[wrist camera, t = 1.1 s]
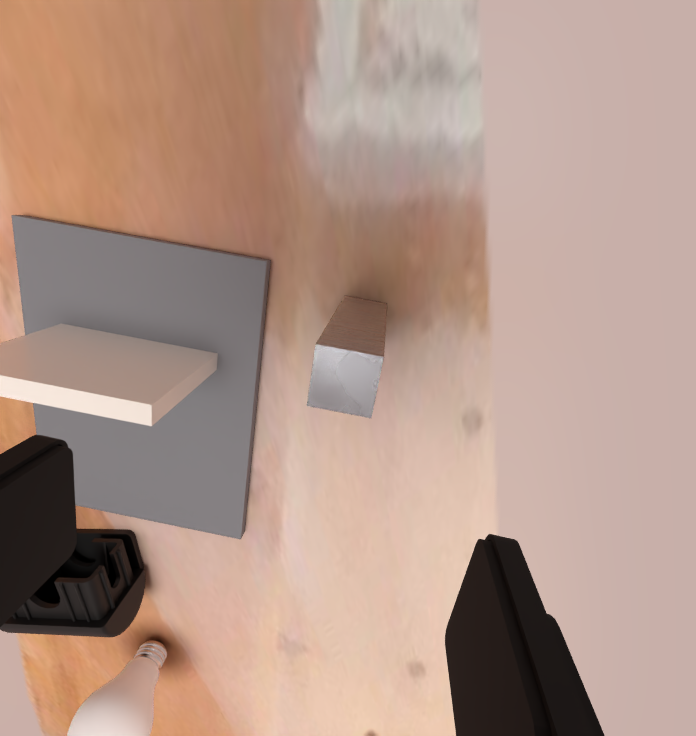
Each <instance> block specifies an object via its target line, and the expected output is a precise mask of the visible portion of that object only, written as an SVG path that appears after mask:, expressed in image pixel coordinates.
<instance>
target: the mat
mask: <svg viewBox="0 0 696 736" xmlns="http://www.w3.org/2000/svg"><path fill="white" fill-rule="evenodd" d="M12 224H13V232H14V241H15V250H16V258H17V267H18V276H19V285H20V293H21V302H22V311H23V319H24V328H25V335H28V334H31V333H34V332H37V331H40V330H43V329H46V328H49V327H52V326H56V325H59V324H66V325H72V326H77V327H82V328H87V329H92V330H98V331H103V332H108V333H113V334H119V335H124V336H129V337H134V338H140V339H145V340H150V341H155V342H161V343H166V344H171V345H176V346H181V347H187V348H192V349H197V350H202V351H208V352H213V353H218V357H217V370H216V371H215V372H214V373H212V374H211V375H210V376H209V377H208V378H207V379H206V380H204V381H203V382H202V383H201V384H200V385H199V386H197V387H196V388H195V389H194V390H193V391H192V392H191V393H189V394H188V395H187V396H186V397H185V398H184V399H183V400H181V401H180V402H179V403H178V404H177V405H176V406H174V407H173V408H172V409H171V410H170V411H169V412H168V413H166V414H165V415H164V416H163V417H162V418H161V419H159V420H158V421H157V422H156V423H155V424H154V425H153V426H148V425H143V424H138V423H133V422H128V421H123V420H117V419H112V418H107V417H102V416H97V415H92V414H87V413H82V412H77V411H72V410H67V409H62V408H57V407H52V406H47V405H42V404H37V403H33V407H34V415H35V424H36V433H37V435H43V436H48V437H52V438H57V439H61V440H64V441H66V443H67V444H68V448H70V449H71V450H72V452H73V464H74V487H75V505H77V506H82V507H87V508H92V509H97V510H101V511H106V512H111V513H116V514H121V515H125V516H130V517H135V518H140V519H145V520H150V521H154V522H159V523H164V524H169V525H174V526H179V527H183V528H188V529H193V530H198V531H203V532H208V533H212V534H217V535H222V536H227V537H232V538H237V539H241V538H242V536H243V534H244V532H245V522H246V512H247V501H248V491H249V481H250V470H251V460H252V449H253V439H254V429H255V418H256V408H257V398H258V387H259V377H260V366H261V356H262V346H263V335H264V325H265V315H266V304H267V294H268V283H269V273H270V263H271V260H267V259H262V258H256V257H251V256H245V255H240V254H234V253H229V252H223V251H218V250H212V249H207V248H201V247H196V246H190V245H185V244H179V243H174V242H168V241H163V240H157V239H152V238H146V237H141V236H135V235H130V234H124V233H119V232H113V231H108V230H102V229H97V228H91V227H86V226H80V225H75V224H69V223H64V222H58V221H53V220H47V219H42V218H36V217H31V216H25V215H12Z"/></svg>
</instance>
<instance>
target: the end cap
mask: <svg viewBox="0 0 696 736" xmlns="http://www.w3.org/2000/svg"><path fill="white" fill-rule="evenodd" d="M76 532H77V544H76V547H75V549H74V552H73V553H72V555H71V556H70V557H69V559H68V560H67V561H66V562H65V563H64V564H63V565H62V566H61V567H60V568H59V569H58V570H57V571H56V572H55V573H54V574H53V575H52V576H51V577H50V578H49V579H48V580H47V581H46V582H45V583H44V584H43V585H42V586H41V587H40V588H39V589H38V590H37V591H36V592H35V593H34V594H33V595H32V596H31V597H30V598H29V599H28V600H27V601H26V602H25V603H24V604H23V605H22V606H21V607H20V608H19V609H18V610H17V611H16V612H15V613H14V614H13V615H12V616H11V617H10V618H9V619H8V620H7V621H6V622H5V623H4V624H3V625H2V626H1V627H0V630H2V631H5V632H9V633H30V634H52V635H73V636H94V637H115V636H117V635H120V634H121V633H122V632H124V631H125V630H126V629H127V628H128V627H129V626H130V624H131V623H132V621H133V620H134V618H135V616H136V615H137V612H138V610H139V608H140V605H141V602H142V599H143V595H144V589H145V573H144V567H143V561H142V557H141V554H140V550H139V547H138V543H137V540H136V537H135V534H134V532H132V531H131V530H114V529H76Z"/></svg>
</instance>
